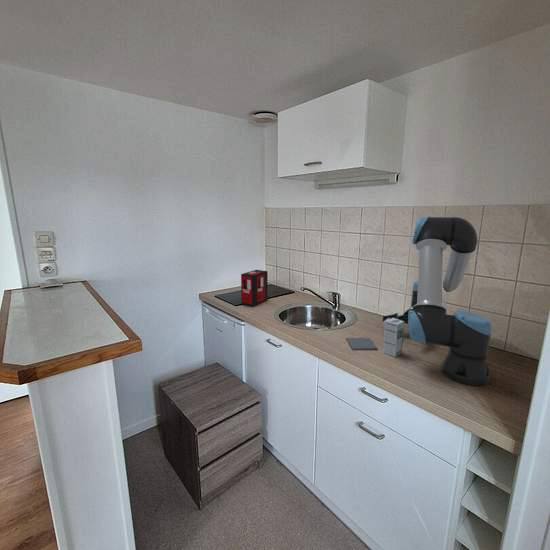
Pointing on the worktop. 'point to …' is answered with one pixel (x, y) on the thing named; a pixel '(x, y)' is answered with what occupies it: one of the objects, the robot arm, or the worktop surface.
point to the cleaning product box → (254, 287)
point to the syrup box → (393, 336)
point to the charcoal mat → (361, 344)
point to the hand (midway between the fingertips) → (399, 328)
